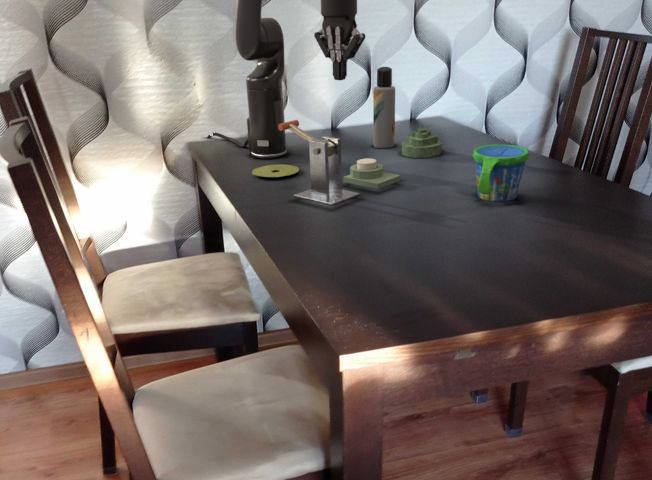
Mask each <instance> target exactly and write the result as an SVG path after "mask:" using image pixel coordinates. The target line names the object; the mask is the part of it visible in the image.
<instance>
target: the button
mask: <svg viewBox="0 0 652 480" xmlns="http://www.w3.org/2000/svg"><path fill="white" fill-rule="evenodd" d="M356 164H357V169H360V170H372V169H376V168H377V164H378V162H377V159H375V158H369V157H368V158H367V157H366V158H360V159H358V160H356Z"/></svg>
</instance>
